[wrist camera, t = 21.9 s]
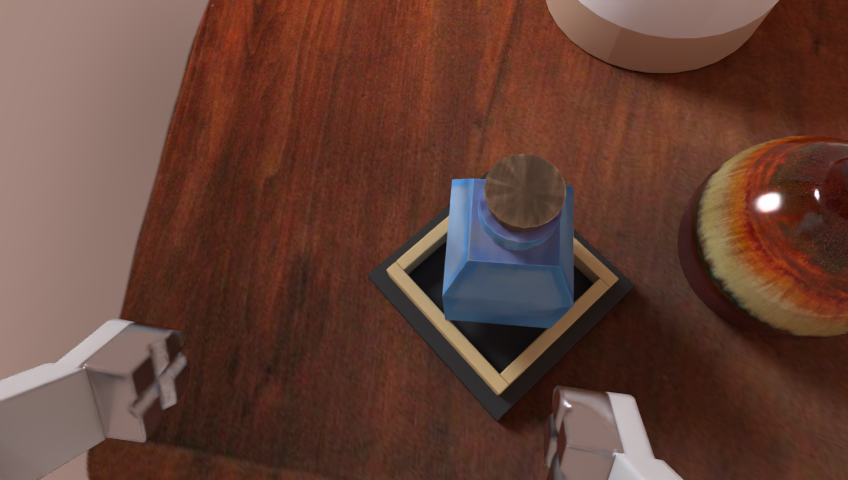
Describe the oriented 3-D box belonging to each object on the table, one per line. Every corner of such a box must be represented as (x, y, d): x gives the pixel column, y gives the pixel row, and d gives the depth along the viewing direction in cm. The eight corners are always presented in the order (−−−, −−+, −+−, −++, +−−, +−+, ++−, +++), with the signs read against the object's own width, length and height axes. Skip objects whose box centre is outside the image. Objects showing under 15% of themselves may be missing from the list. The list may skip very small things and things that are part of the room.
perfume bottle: (550, 328, 30) (608, 272, 18) (444, 319, 30) (438, 260, 19) (551, 229, 32) (604, 124, 20) (452, 222, 32) (451, 117, 21)
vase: (765, 159, 35) (982, -23, 21) (878, 302, 32) (1239, 202, 17) (625, 225, 34) (750, 82, 20) (725, 380, 31) (970, 344, 16)
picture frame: (496, 421, 31) (499, 421, 28) (369, 279, 34) (363, 268, 32) (630, 289, 33) (643, 279, 30) (498, 168, 36) (501, 150, 34)
